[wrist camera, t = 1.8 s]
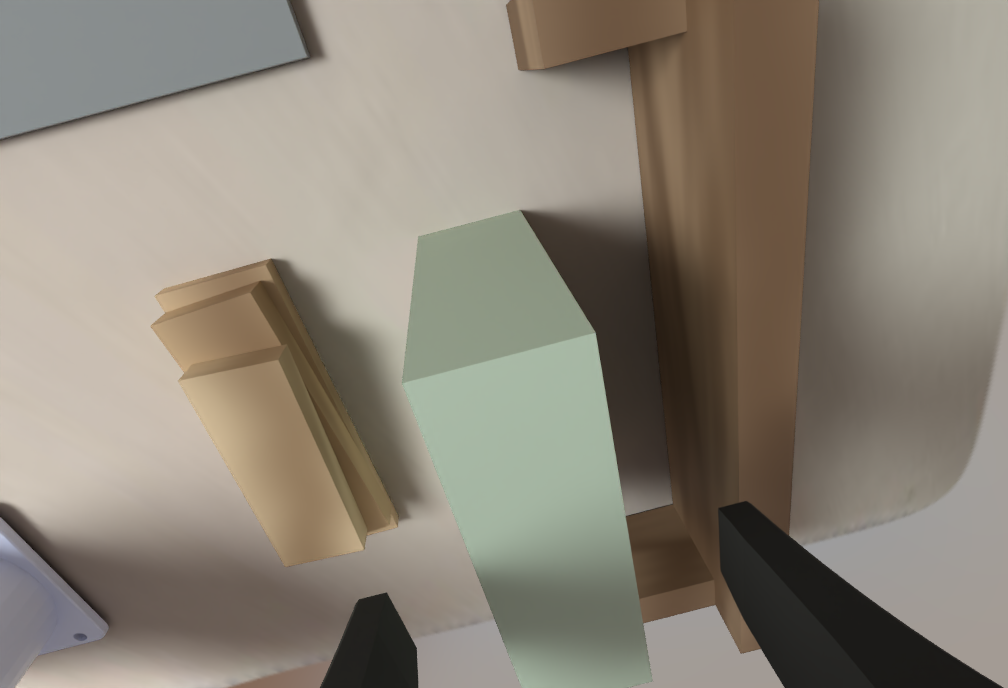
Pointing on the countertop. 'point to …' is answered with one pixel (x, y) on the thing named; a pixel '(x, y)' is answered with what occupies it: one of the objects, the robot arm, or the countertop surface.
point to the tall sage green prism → (526, 452)
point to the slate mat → (130, 52)
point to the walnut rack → (710, 254)
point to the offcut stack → (274, 412)
